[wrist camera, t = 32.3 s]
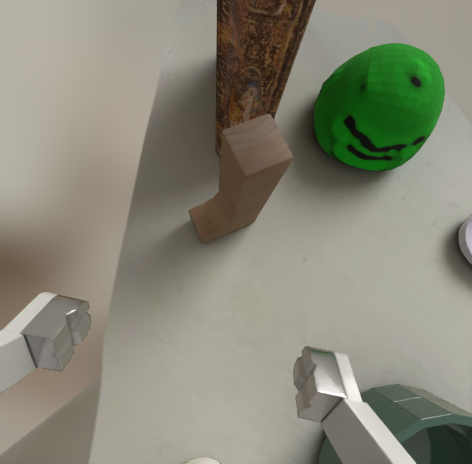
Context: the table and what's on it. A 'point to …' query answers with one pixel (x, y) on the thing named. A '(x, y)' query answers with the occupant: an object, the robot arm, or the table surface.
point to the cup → (202, 461)
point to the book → (255, 56)
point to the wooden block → (243, 177)
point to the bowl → (418, 425)
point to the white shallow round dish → (466, 239)
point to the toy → (379, 107)
